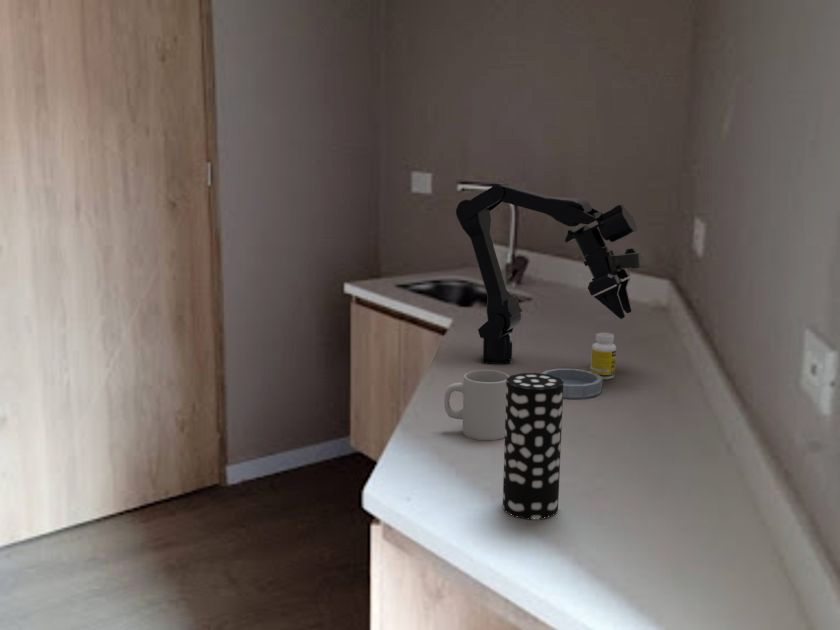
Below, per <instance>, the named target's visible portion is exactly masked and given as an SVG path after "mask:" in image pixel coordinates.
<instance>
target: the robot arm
mask: <svg viewBox="0 0 840 630" xmlns="http://www.w3.org/2000/svg"><path fill="white" fill-rule="evenodd" d="M502 203H506V204H510V205H513V206H517V207H521V208H524V209H527V210H532V211H535V212H538V213H542V214H545V215H546V216H549V217H550V218H552V219H553V220H555V221H557V222H558V223H561V224H563V225H565V226H567V227H577V226H579V225H584V226H581V227H579V228H578V229H572V228H571V229H568V230H567V234H566V237H565V239H564V242H565V243H569V242H572V241H573V240H574V241H575V243H576V245H577V247H578V249H579V252H580V253H581V255H582V257H583V259H584V261H583V265H584V266H585V267H588V269H589V272H590V274H591V276H592V278H591V281H590V282H589V283H588V286H587V289H588V291H589V294H590V295H591V296H592V297H593V298H594V299H595V300H597V301H599V302H600V303H601V304H602V305H604V307H605V308H607V309H608V310H609V311H611V312H612V313H613V314H614V316H616V317H618V318H619V319H620V320H623V319H624V318H626V315H625V313H626V314H629V313H631V312H632V311H633V310H632V307H631V306H632V305H631V303H630V302H631V301H630V298H629V297H630V296H629V292H628V286H629V282H630V280H631V273H630V272H629V270H628V269H639V268H641V267H642V266H643V262H642V254H641V252H640V251H637V250H636V248H634V247H629V248H626V250H625V251H624V253H620V254H616V253H615V252H614V250H613V249H611V248H610V249H609V247H608V245H607V243H606V241H609V242H611V243H616V242H618V241H619V240H622V239H624V238H626V237H628V236H630V235H632V234H634V233H636V232H637V231H638V227H637V222H636V221H635V217H634V216H633V215H631V213H630V212H629V211H628V209H626V207H625V205H624V204H623V203H620V204H618V205H616V206H614V207H613V208H612V209H610V210H608V211H606V212H602V211H599V210H598V209H596V208H594V207H592V205H591V204H590V202H589V201H588V200H587V199H584V198H579V197H567V196H566V197H564V196H563V197H560V196H559V197H558V196H551V195H549V194H545V193H540V192H536V191H533V190H529V189H526V188H521V187H518V186H515V185H510V184H509V183H507V182H501V183H495V184H493V185H492V186H491V187H490V188H488V189H487V190H484V191H483V192H481V193H479V194H478V195H475V196H474V197H472V198H469V199H468V198H467V199H463V200H461V201H460V202H459V204H457V207H456V209H455V215H456V217H457V221H458V222H459V224H460V226H461V229H462V230H463V231H464V232H465V234H466V235H467V236H468V237H469V239H470V241H471V244H472V248H473V252H474V255H475V258H476V261H477V266H478V268H479V269H478V270H479V272H480V275H481V278H482V282H483V285H484V289H485V292H486V295H487V299H486V300H487V301H486V318H487V321H486V322H484V324H482V325H481V326H480V327H479V328H478V329H477V331H478V335H479V338H480V339H482V345H481V346H482V348H481V349H482V350H481V351H482V352H481V353H482V354H481V355H480V356H481V361H482V363H483V364H511V360H512V359H513V342H512V340H511V336H510V334H512V333H513V331H514V329H515V327H517V326H518V325H519V324H520V322H521V320H522V315H521V314H522V313H523V309H522V308H521V305H520V301H519V297H518V295H514V296H512V295H511V294H510V293H509V292H508V290H507V287H506V284H505V280H504V277H503V274H502V271H501V267H500V263H499V259H498V256H497V253H496V251H495V250H496V249H495V247H494V244H493V239H492V236H491V224H492V217H491V211H493V210H495V209H496V208H497V207H498V206H500V205H501V204H502ZM594 223H597V224H595V225H594V226H592V227H590V226H589V225H590V224H594ZM628 277H629V278H628Z"/></svg>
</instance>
